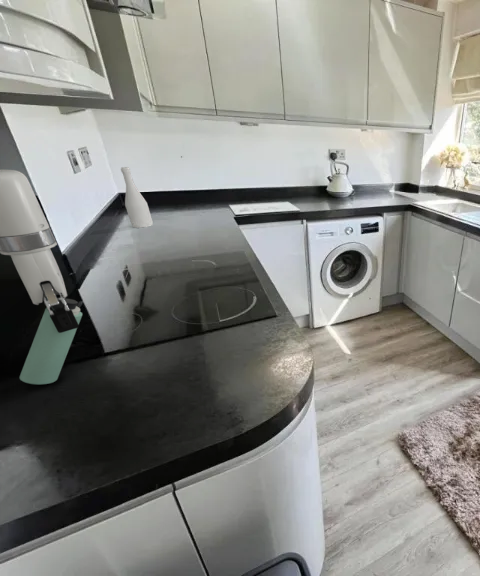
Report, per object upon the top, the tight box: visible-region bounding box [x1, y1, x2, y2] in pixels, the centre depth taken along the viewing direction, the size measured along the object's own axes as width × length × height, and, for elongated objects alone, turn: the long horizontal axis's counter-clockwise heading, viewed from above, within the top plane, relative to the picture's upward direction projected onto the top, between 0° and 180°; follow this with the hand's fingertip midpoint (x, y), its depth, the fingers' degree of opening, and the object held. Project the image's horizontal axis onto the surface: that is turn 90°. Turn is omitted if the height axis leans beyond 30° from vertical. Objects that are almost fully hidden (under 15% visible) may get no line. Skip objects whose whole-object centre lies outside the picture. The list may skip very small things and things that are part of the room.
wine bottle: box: [120, 166, 154, 229], centre depth 169 cm, size 10×10×30 cm
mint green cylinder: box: [19, 297, 83, 385], centre depth 67 cm, size 17×6×6 cm
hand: (67, 322), depth 68 cm, fingers closed on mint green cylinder, 5 cm apart
